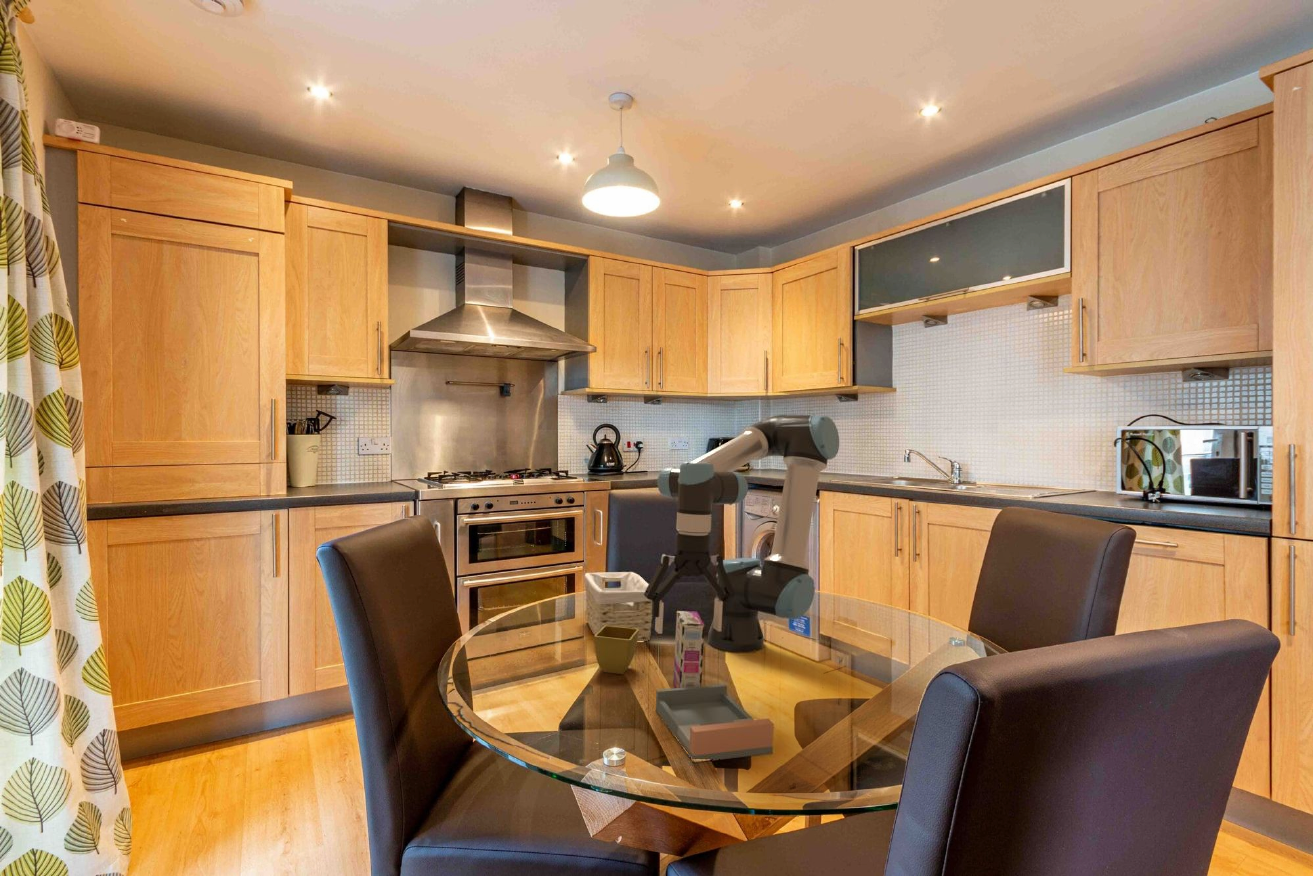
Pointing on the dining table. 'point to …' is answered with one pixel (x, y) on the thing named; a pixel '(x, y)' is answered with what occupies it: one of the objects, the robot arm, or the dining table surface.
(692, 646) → the candy bar box
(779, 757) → the dining table surface
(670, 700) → the gray drawer tray
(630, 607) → the storage basket
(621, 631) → the flower pot
